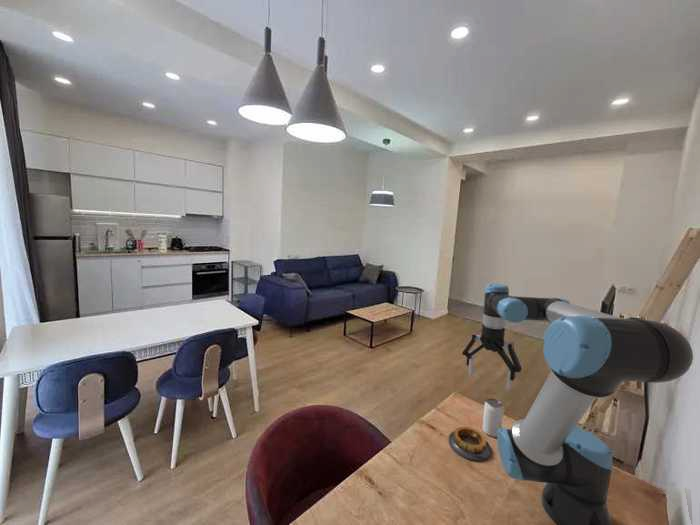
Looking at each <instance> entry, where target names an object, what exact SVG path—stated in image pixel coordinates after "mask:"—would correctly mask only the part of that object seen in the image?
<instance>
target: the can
mask: <svg viewBox="0 0 700 525" xmlns="http://www.w3.org/2000/svg"><path fill="white" fill-rule="evenodd" d="M503 417H504V406H503V403H502V402H501V401H500V400H499V399H496V398H491V397H490V398H487V399H485V402H484V407H483V418H482V419H483V420H482V430H483V432H484V433H485V434H486V435H487V436H490V437H493V438H497V434H498V430H499V429H503V428H502V427H503Z"/></svg>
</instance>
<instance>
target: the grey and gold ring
mask: <svg viewBox="0 0 700 525" xmlns="http://www.w3.org/2000/svg"><path fill="white" fill-rule="evenodd" d="M448 445H449V447H450V448H451V450H452V451H453V452H454V453H456V454H457V455H459V456H460V457H461V458H463V459H466V460H469V461H472V462H484V461H487V460H488V459H489V458H490V456H491V455H492V450H491V449H492V448H491V445H490V443H489V442H488V441H487V440H486V437H485V436H484V435H483V433H482V432H480V431H478V430H476V429H475V428H473V427H468V426H460V427H459V426H458V427H457V428H456V429H454V431H452V432H450V434H449V435H448Z"/></svg>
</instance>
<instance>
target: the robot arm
mask: <svg viewBox="0 0 700 525" xmlns="http://www.w3.org/2000/svg"><path fill="white" fill-rule="evenodd" d="M484 290H485V291H484V300H483V301H484V302H483V314H482V315H483V316H482V325H481V335H479V334H478V333H476V332H475V333H474V334H472V336H471V340H470V341H469V342H468V344H467V345H466V346H465V348H464V350H463V351H462V355H463V356H465V357H466V366H468V369H467V372H468V373H467V375H468V376H471V375H472V374H473V371H474V360H475V357H474V355H475V354H477V353H478V352H479V351H481V350H482V349H485V350H487V351H491V352H493V353H495V352H497V354H498V355H499V356H500V357H501V360H503V362H504V363H505V365H506V366H507V368H508V371H507V375H506V376H507V377H506V378H507V379H506V389H507V390H509V389H510V388H511V386H512V382H513V381H514V380H515V378H516V373H520V372H521V371H522V370H523V368H522V366H521V363H520V361H519V359H518V356H517V353H516V351H515V349H514V343H513V342H506V341H505V332H506V328H505V327H506V323H507V321H508V322H510V323H513V324H517V323H520V322H522V321H539V322H540V321H541V322H547V323H550V324H549V326H547V328H546V330H545V333H544V336H543V343H544V344H543V346H542V350H543V356H544V359H545V361H546V363H547V365H548V368H549V370H550V372H549V374H548V376H547V378H546V380H545V381H544V383H543V385H542V387H541V388H540V390H539V392H538V394H537V396H536V398H535V399H534V401H533V403H532V405H531V407H530V409H529V410H528V412H527V415H525V417H524V418H520V419H517V420H516V421H514V424H513V425H512V427H511V428H506V427H504V428H502V429H499V430H498V434H497V437H496V439H497V442H496V443H497V449H498V452H499V456H500V457H499V458H500V461H501V463H502V466H503V470H504V471H505V472H506V474H507V475H508V477H510V478H511V479H514V480H519V481H522V482H524V481H525V482H526V481H527V482H528V481H529V482H538V483H546V484H545V485H544V487H543V489H542V494H541V504H542V506H543V508H544V511H545V512H546V514H547V515H548V516H549V517H550V519H551V520H552V521H553V522H554V523H555V524H556V523H557V524H558V525H613V523H612V520H611V515H610V511H609V507H608V504H607V498H608V493H609V486H610V481H611V475H612V470H613V468H614V467H613V453H612V451H611V450H610V448H609V446H608V445H607V444H606V443H605V442H604V441H603V440H601V438H599V437H598V436H596V435H595V434H593V433H591V432H589V431H587V430H585V429H582V428H580V427H579V426H577V425H578V423H580V421H581V419H582V418H583V417H584V416H585V414H586V413H587V411H588V410H589V409H590V408H591V406H592V405H593V403H594V402H595V401H596V399H605V398H608V397H610V396H611V395H613V394H614V393H615V391H617V389H618V388H619V386H620V385H621V384H622V383H624V382H627V381H628V382H637V383H653V384H654V383H655V384H656V383H665V382H672V381H674V380H677V379H679V378H680V377H682V376H684V375H685V374H686V373H687V372H688V371H689V369H690V367H691V366H692V364H693V360H694V353H693V349H692V346H691V344H690V343H689V341H688V339H687V337H685V336H684V335H683V334H682V333H681V332H680V331H679V330H677V329H676V328H674V327H672V326H670V325H668V324H665V323H663V322H659V321H654V320H648V319H644V318H642V317H631V316H630V317H627V318H623V317H620V316H615V315H612V314H608V313H605V312H601V311H598V310H594V309H590V308H587V307H583V306H580V305H575V304H573V303H571V302H570V301H569V300H568V299H565V298H558V297H552V298H551V297H533V296H532V297H531V296H517V295H516V296H515V295H510V294H509V293H510V292H509V286H508V285H505V284H501V283H488V284H486V285H485V289H484ZM479 340H480V342H481V344H480V345H479V346H478V347H476V348H475V349H473V350H472V351H470V350H471V349H472V347H473V346H474V344H475V343H476V342H477V341H479ZM504 347H505V348H506V349H507V351H508V354H509V356H508V354H507V353H506V351H505V349H504ZM509 357H510V358H509ZM557 524H556V525H557Z"/></svg>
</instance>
